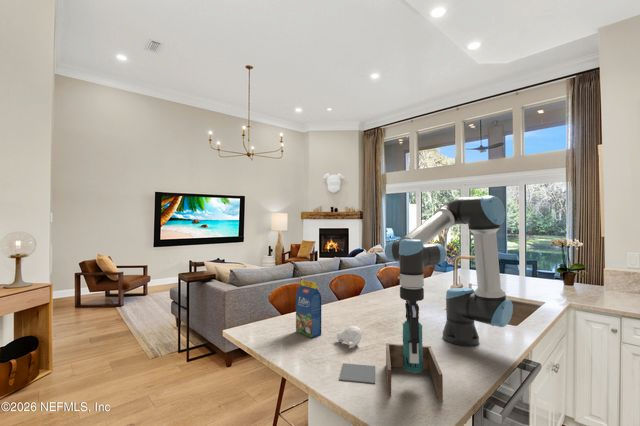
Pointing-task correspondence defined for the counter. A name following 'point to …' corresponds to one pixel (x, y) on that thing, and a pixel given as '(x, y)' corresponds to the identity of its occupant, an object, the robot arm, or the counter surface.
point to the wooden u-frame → (429, 362)
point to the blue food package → (308, 309)
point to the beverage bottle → (406, 354)
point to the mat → (358, 373)
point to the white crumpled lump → (350, 336)
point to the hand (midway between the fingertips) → (412, 357)
